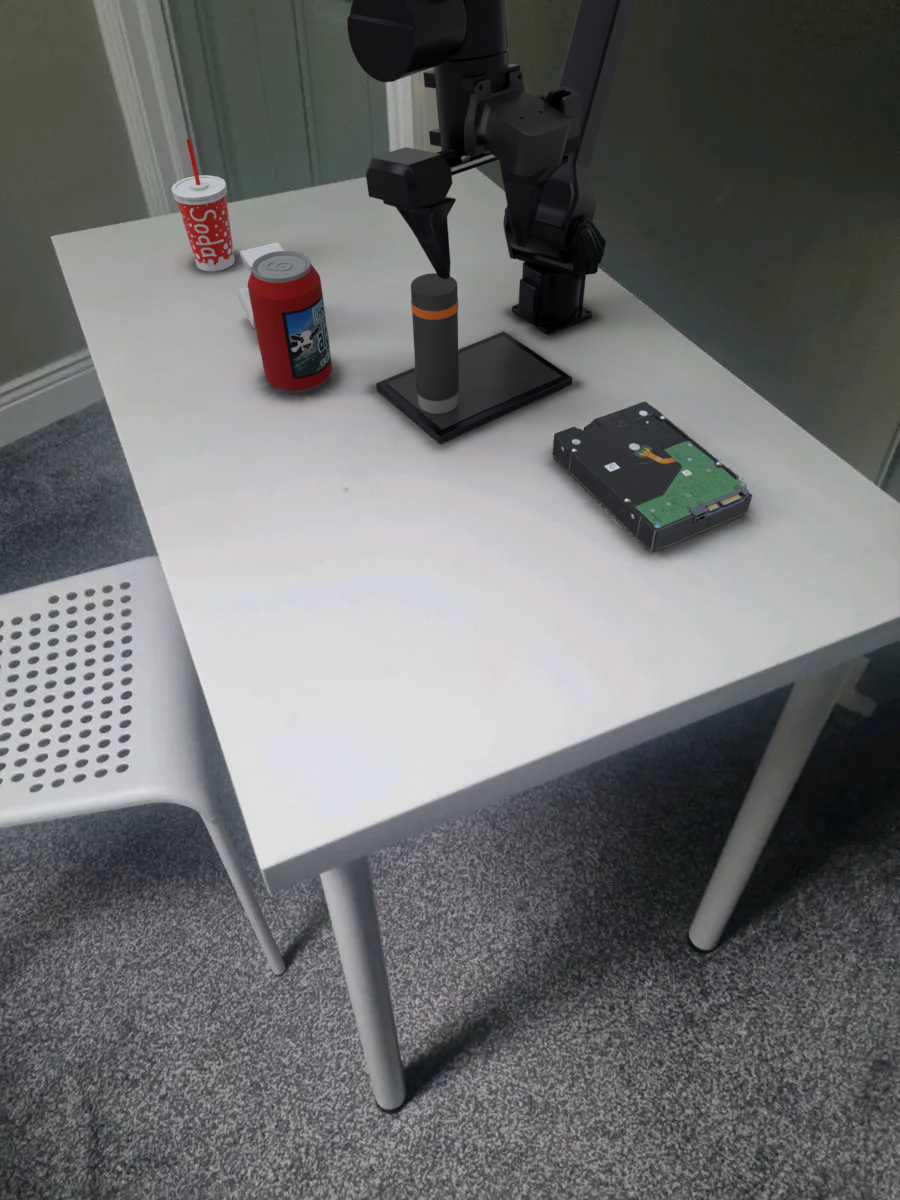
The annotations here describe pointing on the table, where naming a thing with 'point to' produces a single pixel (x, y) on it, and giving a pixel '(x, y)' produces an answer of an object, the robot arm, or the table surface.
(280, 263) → the beverage can
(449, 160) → the robot arm
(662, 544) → the disk drive
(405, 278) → the table surface
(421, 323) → the flashlight
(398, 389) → the tablet
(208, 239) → the beverage cup
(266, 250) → the stamp
